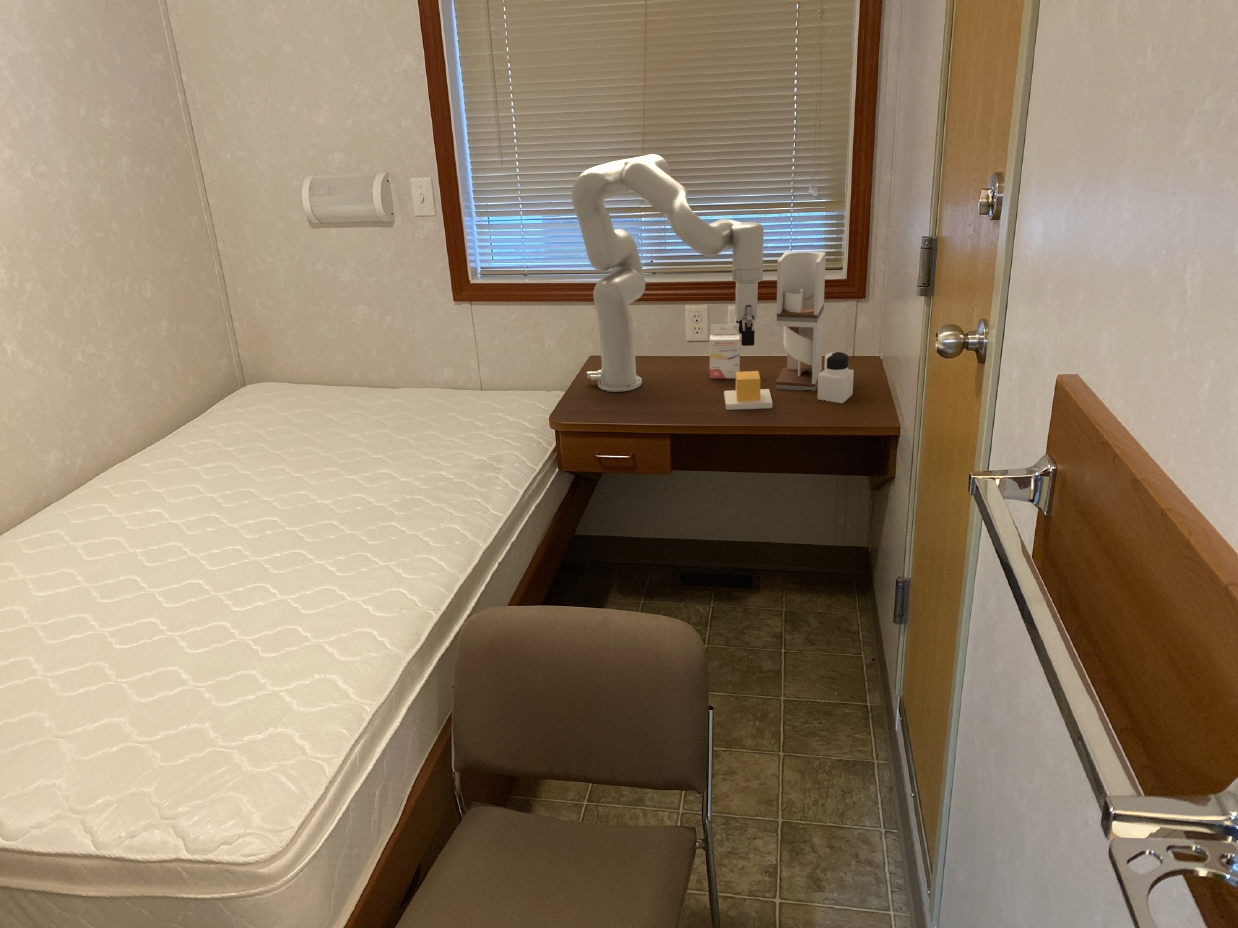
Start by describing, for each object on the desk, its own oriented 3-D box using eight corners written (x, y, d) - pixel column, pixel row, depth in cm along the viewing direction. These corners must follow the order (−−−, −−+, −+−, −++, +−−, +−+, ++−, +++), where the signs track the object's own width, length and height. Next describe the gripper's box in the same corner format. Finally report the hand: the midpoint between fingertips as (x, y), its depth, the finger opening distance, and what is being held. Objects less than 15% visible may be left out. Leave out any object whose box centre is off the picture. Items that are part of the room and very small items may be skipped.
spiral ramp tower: (783, 374, 259) (785, 251, 244) (821, 377, 256) (825, 252, 241) (775, 388, 249) (777, 261, 235) (814, 391, 246) (819, 262, 231)
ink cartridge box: (709, 379, 260) (708, 329, 253) (709, 373, 264) (708, 324, 258) (740, 378, 259) (739, 328, 252) (739, 372, 263) (739, 323, 257)
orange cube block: (737, 401, 239) (736, 379, 236) (735, 393, 244) (735, 371, 242) (760, 400, 238) (760, 378, 236) (758, 392, 244) (758, 371, 241)
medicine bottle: (852, 395, 242) (855, 351, 237) (842, 404, 237) (844, 360, 232) (827, 391, 246) (829, 348, 241) (816, 399, 240) (818, 356, 235)
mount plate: (726, 409, 238) (725, 386, 235) (724, 396, 247) (723, 373, 244) (772, 408, 237) (772, 384, 234) (768, 394, 246) (769, 371, 243)
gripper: (730, 266, 235) (729, 329, 243) (734, 283, 220) (733, 350, 227) (759, 265, 235) (758, 329, 242) (765, 282, 219) (764, 349, 227)
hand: (746, 339), depth 235 cm, fingers open, 9 cm apart
